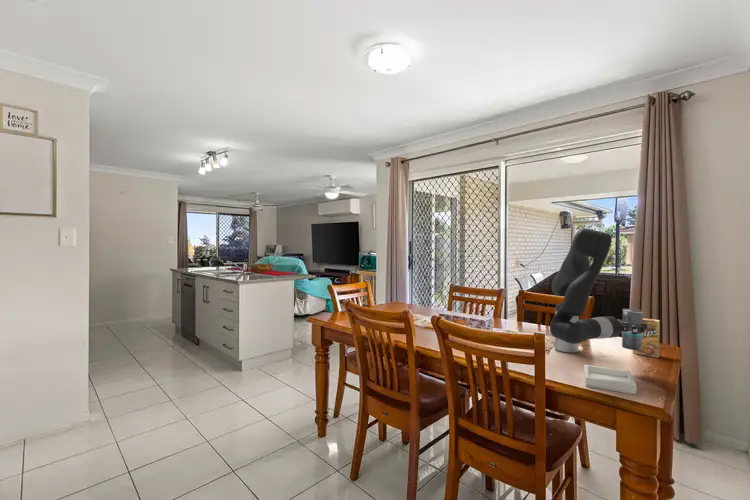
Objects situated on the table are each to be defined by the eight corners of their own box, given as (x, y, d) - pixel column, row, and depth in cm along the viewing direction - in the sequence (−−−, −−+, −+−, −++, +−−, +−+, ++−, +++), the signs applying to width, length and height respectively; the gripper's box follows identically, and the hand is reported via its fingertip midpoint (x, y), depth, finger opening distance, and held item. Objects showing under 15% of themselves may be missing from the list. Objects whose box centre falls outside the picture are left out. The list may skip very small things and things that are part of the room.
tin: (622, 348, 133) (623, 310, 132) (620, 344, 138) (621, 308, 138) (643, 351, 130) (644, 312, 130) (640, 346, 135) (641, 309, 135)
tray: (585, 386, 122) (585, 377, 122) (584, 372, 134) (584, 364, 134) (636, 394, 115) (636, 385, 115) (629, 379, 128) (630, 370, 128)
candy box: (632, 353, 156) (633, 318, 156) (633, 351, 159) (634, 316, 159) (658, 358, 150) (659, 321, 150) (659, 355, 154) (659, 319, 153)
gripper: (621, 321, 123) (657, 318, 128) (585, 313, 136) (619, 310, 141) (621, 343, 123) (657, 339, 128) (585, 333, 136) (618, 329, 141)
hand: (636, 324), depth 134 cm, fingers closed on tin, 6 cm apart
